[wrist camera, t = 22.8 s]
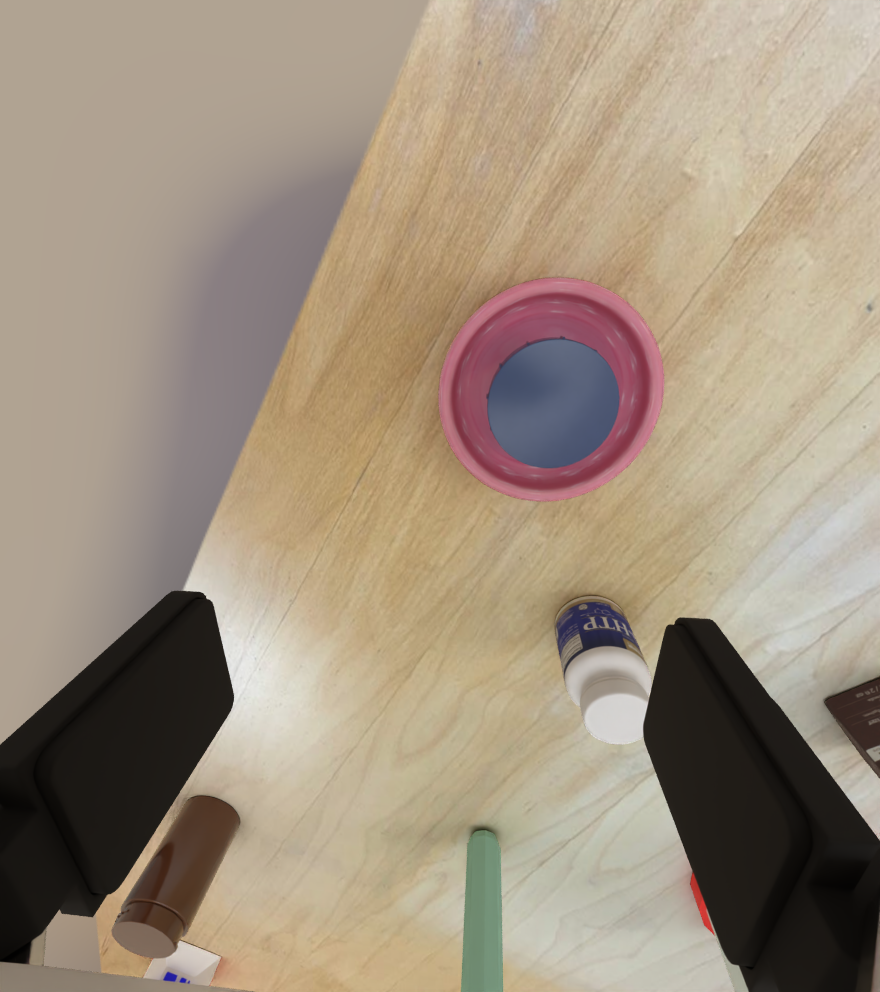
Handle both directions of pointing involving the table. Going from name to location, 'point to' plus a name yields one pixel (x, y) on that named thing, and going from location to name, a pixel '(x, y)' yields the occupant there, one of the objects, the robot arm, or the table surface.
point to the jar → (176, 879)
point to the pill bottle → (603, 668)
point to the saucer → (536, 316)
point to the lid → (552, 402)
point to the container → (483, 916)
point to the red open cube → (185, 966)
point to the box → (860, 720)
